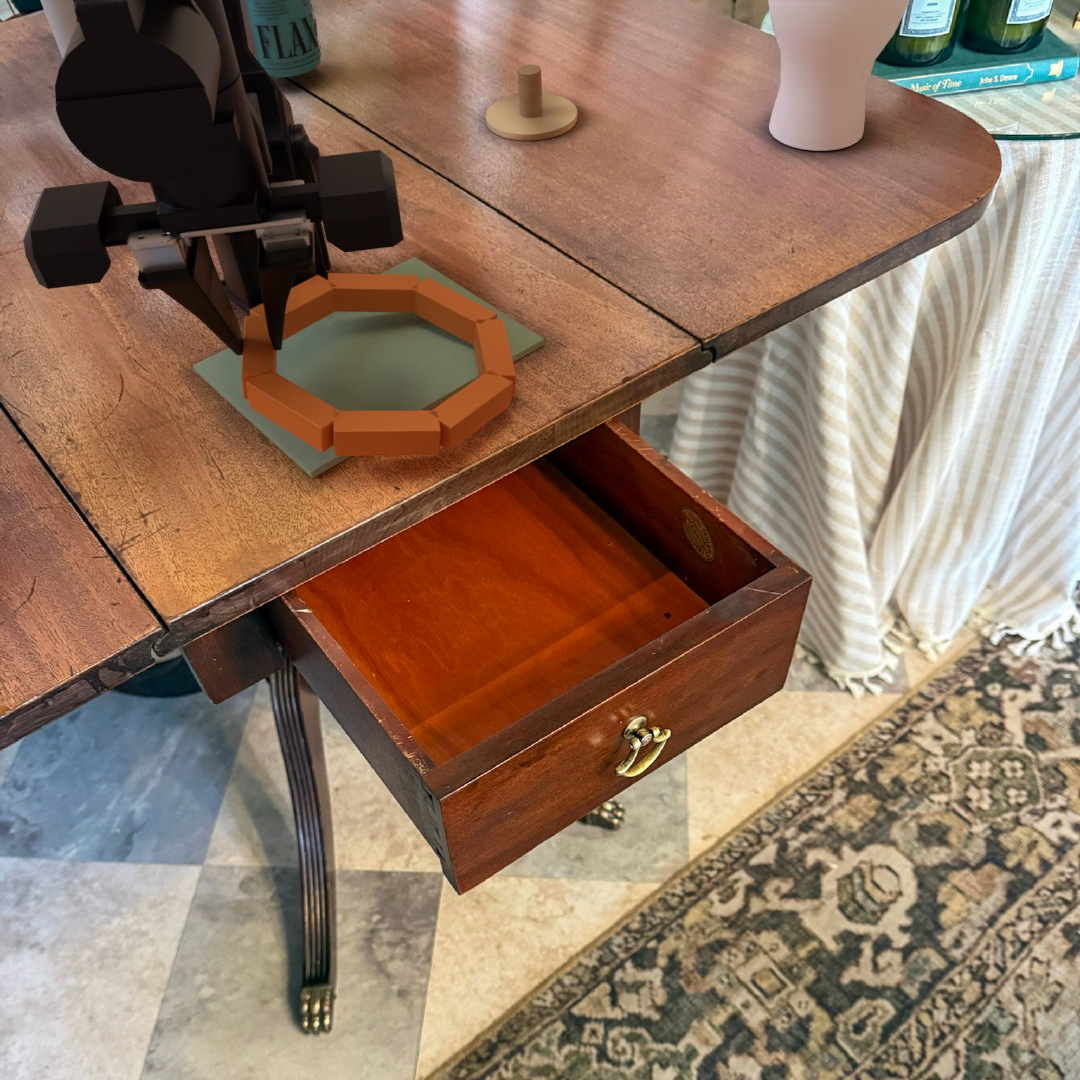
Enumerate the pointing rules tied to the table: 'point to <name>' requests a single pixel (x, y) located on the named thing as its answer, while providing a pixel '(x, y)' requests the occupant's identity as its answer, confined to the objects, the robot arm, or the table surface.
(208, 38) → the robot arm
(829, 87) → the pale pink vase
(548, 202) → the table surface
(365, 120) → the table surface
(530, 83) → the stand
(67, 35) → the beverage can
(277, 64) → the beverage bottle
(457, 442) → the ring
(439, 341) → the mat
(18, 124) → the table surface
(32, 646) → the table surface
